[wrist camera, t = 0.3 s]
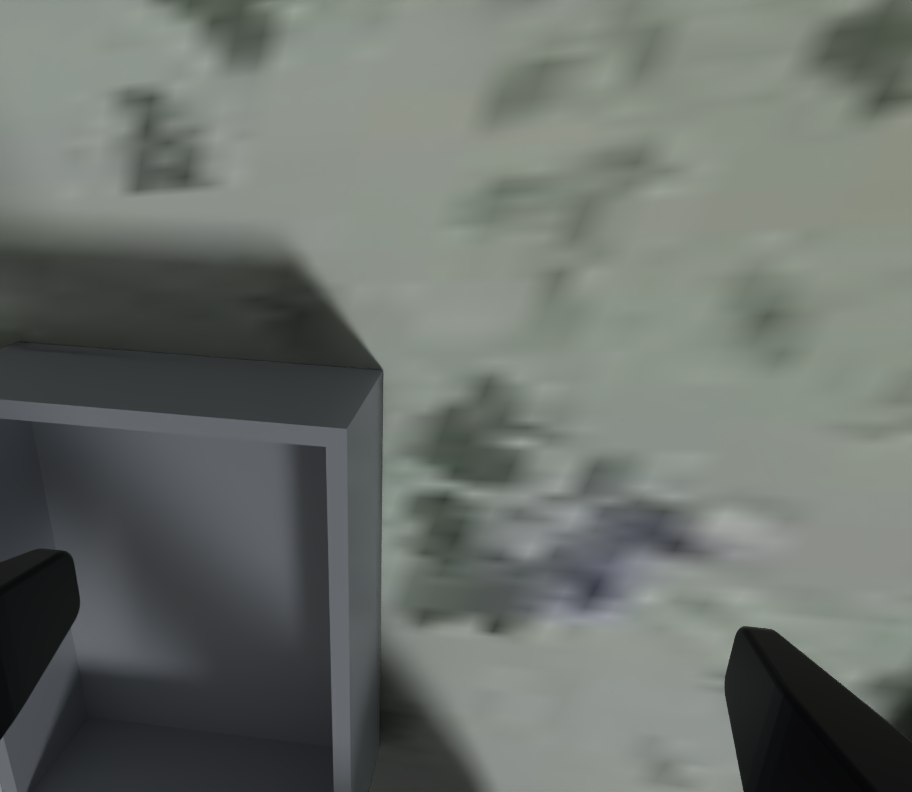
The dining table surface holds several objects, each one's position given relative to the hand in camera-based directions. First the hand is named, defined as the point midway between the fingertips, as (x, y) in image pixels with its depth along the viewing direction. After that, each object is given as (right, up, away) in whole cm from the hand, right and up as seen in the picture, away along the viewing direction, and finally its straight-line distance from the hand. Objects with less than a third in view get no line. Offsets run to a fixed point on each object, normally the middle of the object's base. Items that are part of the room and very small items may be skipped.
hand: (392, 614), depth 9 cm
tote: (-9, -4, +18) cm, 20 cm away
